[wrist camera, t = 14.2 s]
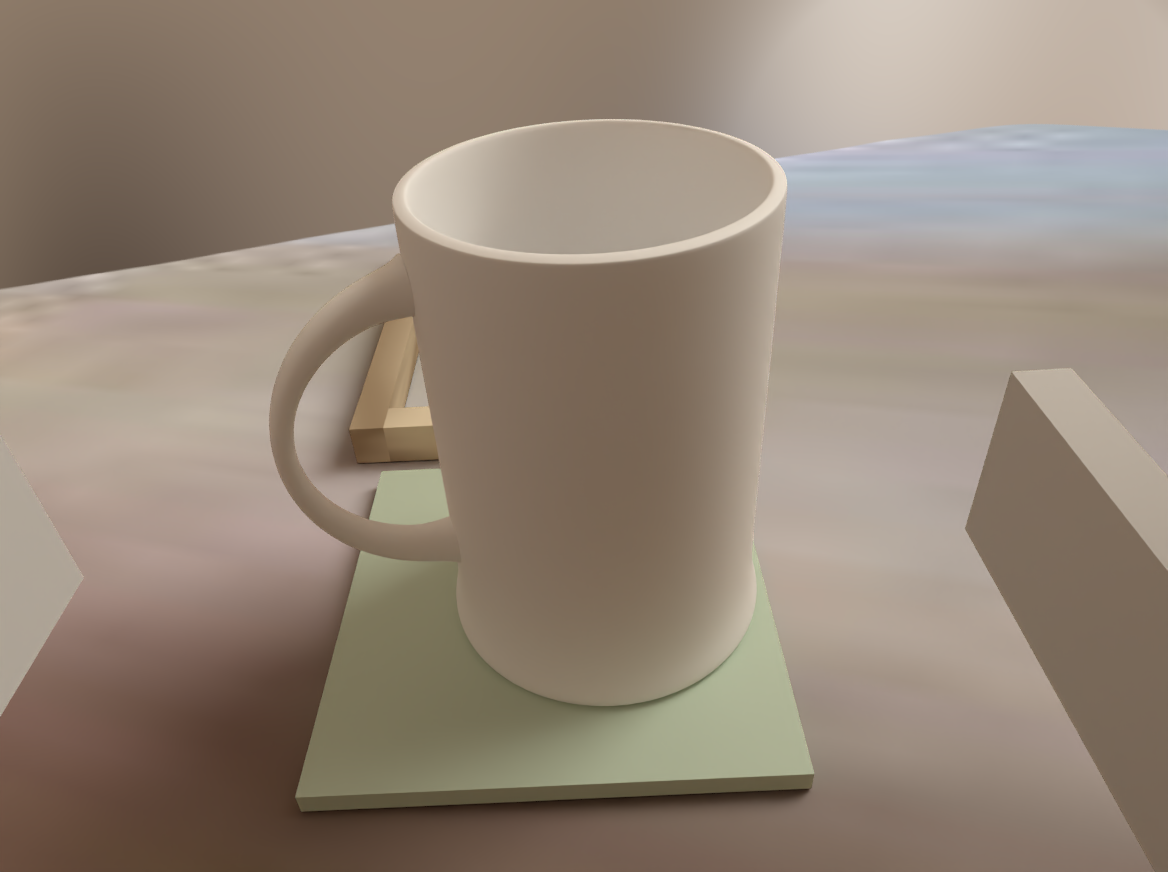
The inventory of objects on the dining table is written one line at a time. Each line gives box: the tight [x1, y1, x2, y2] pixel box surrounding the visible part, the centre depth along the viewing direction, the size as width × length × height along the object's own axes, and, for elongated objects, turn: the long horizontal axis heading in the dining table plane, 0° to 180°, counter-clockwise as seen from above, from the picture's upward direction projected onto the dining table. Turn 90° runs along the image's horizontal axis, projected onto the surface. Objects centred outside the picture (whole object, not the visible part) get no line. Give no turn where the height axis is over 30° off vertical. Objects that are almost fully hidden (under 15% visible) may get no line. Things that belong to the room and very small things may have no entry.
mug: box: [269, 119, 787, 706], centre depth 21 cm, size 12×8×12 cm
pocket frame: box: [349, 317, 439, 463], centre depth 37 cm, size 14×17×2 cm
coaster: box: [295, 468, 814, 812], centre depth 25 cm, size 12×12×1 cm
